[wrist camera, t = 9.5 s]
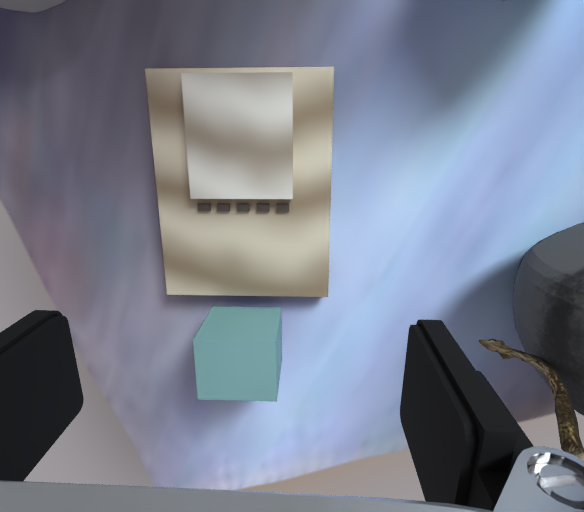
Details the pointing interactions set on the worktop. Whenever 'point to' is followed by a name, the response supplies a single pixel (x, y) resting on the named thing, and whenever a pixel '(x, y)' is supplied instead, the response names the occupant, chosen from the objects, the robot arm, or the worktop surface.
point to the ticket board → (243, 178)
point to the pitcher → (553, 324)
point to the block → (239, 354)
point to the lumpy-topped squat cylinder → (29, 5)
